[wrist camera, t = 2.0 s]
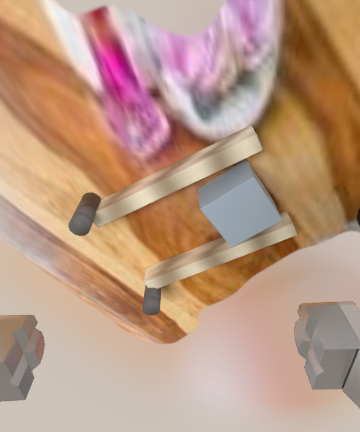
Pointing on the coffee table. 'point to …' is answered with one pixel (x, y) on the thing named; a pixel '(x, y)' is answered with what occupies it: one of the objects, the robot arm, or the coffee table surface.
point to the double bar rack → (168, 183)
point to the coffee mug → (358, 217)
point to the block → (238, 204)
